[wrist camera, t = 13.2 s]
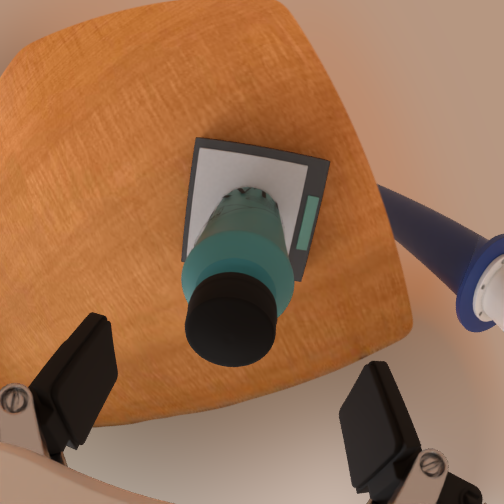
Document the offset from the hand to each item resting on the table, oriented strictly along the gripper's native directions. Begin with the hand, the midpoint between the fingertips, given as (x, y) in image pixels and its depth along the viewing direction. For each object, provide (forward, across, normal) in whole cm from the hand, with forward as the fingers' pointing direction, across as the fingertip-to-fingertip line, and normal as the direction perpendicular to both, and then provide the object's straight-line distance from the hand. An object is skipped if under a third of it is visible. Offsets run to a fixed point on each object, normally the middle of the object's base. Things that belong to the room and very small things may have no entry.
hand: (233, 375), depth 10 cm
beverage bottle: (+22, +1, 0) cm, 22 cm away
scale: (+25, 0, 0) cm, 25 cm away
